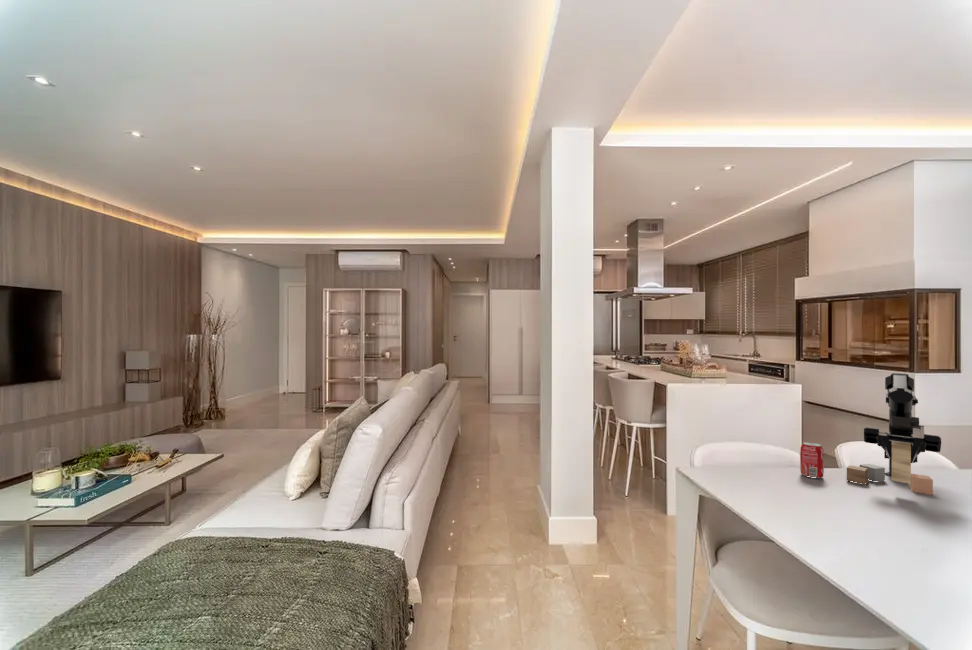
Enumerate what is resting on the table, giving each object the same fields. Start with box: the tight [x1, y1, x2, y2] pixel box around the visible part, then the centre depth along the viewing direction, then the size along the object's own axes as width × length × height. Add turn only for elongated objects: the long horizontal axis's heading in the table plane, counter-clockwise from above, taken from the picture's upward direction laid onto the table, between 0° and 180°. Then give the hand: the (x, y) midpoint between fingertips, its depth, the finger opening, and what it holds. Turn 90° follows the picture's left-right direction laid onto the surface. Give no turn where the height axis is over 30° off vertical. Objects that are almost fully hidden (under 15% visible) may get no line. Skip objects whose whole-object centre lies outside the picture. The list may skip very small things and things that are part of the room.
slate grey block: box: [859, 463, 886, 481], centre depth 162 cm, size 5×5×5 cm
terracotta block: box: [908, 473, 934, 496], centre depth 151 cm, size 5×5×5 cm
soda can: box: [799, 441, 825, 479], centre depth 164 cm, size 7×7×12 cm
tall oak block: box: [890, 441, 912, 485], centre depth 145 cm, size 4×4×12 cm
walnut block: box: [846, 464, 869, 485], centre depth 159 cm, size 5×5×5 cm
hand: (901, 460), depth 144 cm, fingers closed on tall oak block, 4 cm apart
